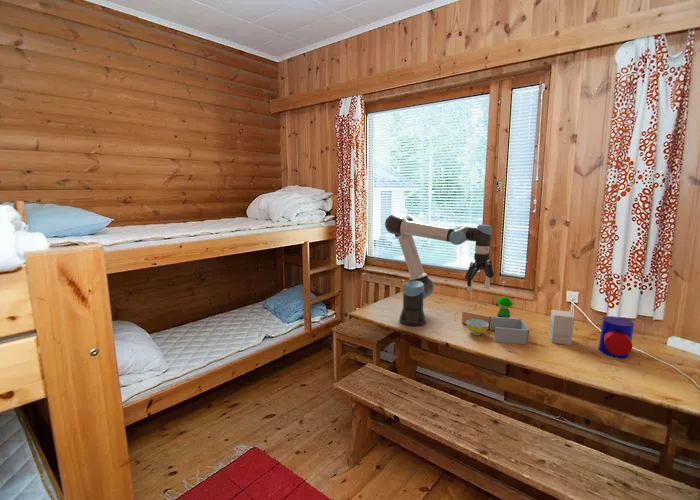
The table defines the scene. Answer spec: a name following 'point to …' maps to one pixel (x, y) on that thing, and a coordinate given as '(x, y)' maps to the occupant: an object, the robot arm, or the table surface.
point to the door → (475, 317)
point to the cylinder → (616, 336)
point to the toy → (504, 307)
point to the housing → (509, 330)
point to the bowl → (477, 326)
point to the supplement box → (561, 327)
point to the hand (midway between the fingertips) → (478, 289)
